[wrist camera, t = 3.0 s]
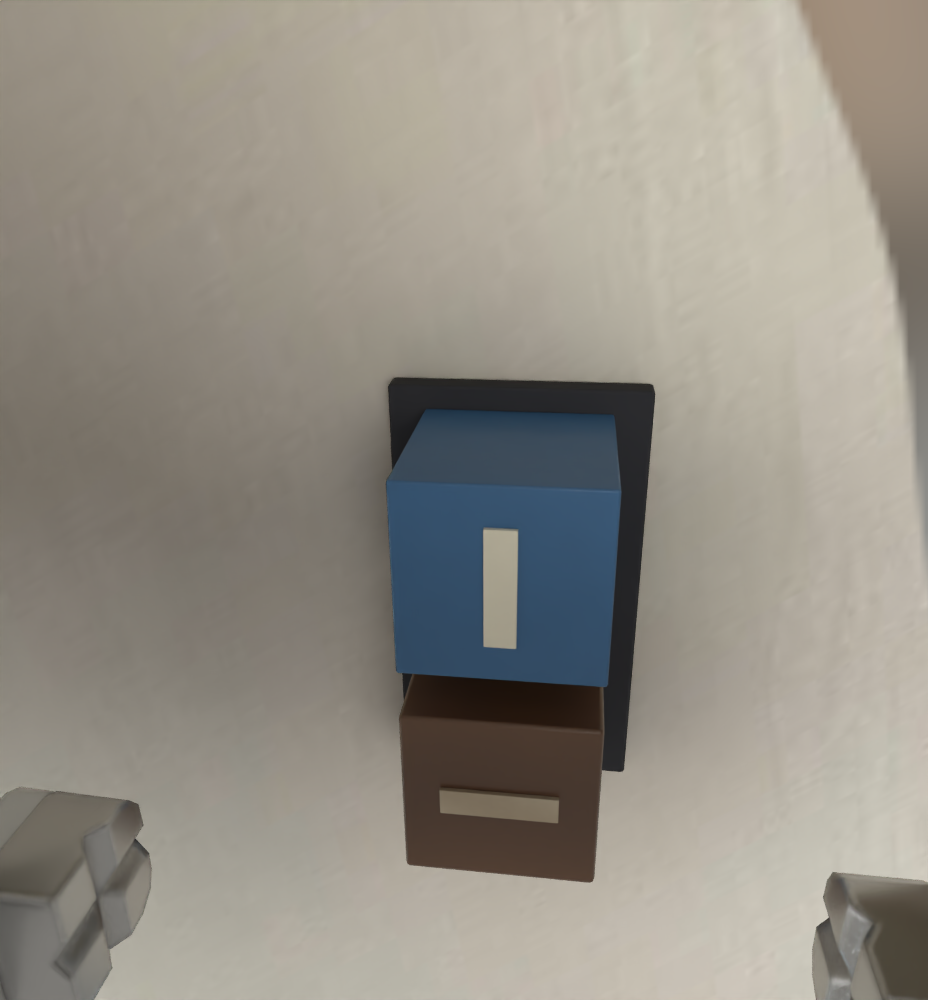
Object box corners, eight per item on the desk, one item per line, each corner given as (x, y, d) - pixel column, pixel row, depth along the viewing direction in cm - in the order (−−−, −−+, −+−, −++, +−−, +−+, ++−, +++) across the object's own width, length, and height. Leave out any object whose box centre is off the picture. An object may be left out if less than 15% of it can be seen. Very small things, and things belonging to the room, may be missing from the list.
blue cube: (425, 407, 18) (384, 482, 15) (614, 413, 18) (621, 492, 14) (430, 572, 20) (394, 677, 16) (603, 581, 19) (608, 692, 16)
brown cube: (431, 609, 20) (396, 719, 17) (601, 618, 20) (604, 735, 16) (435, 742, 22) (405, 870, 18) (592, 755, 21) (594, 889, 18)
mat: (392, 376, 19) (387, 384, 18) (653, 383, 18) (655, 391, 17) (410, 740, 23) (405, 755, 22) (622, 757, 22) (623, 773, 22)
